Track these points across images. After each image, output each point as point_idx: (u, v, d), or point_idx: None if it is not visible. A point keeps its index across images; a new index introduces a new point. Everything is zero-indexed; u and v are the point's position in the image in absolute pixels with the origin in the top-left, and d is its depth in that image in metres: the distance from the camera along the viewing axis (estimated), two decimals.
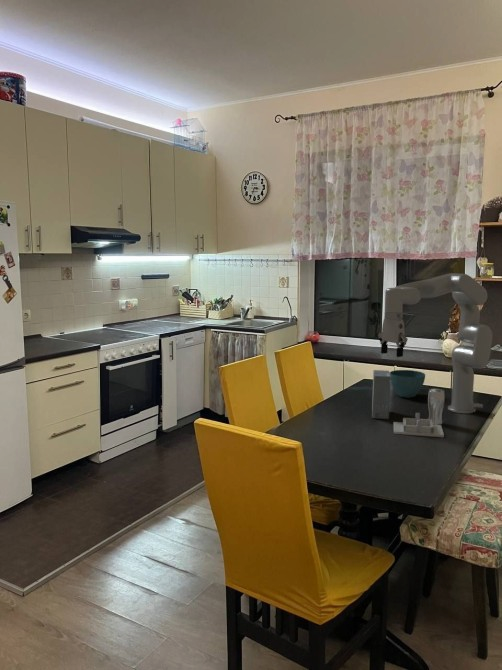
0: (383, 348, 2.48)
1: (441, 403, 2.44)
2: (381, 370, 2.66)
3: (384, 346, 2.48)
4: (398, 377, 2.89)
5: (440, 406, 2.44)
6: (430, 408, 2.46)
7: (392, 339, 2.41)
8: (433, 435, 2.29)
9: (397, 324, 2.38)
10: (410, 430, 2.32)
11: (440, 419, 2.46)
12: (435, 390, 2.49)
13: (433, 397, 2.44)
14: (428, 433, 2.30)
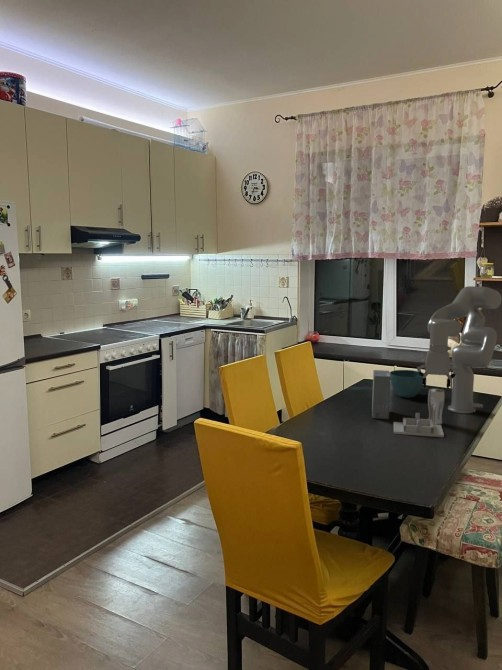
0: None
1: (441, 403, 2.44)
2: (381, 370, 2.66)
3: None
4: (398, 377, 2.89)
5: (440, 406, 2.44)
6: (430, 408, 2.46)
7: (443, 371, 2.42)
8: (433, 435, 2.29)
9: (448, 356, 2.41)
10: (410, 430, 2.32)
11: (440, 419, 2.46)
12: (435, 390, 2.49)
13: (433, 397, 2.44)
14: (428, 433, 2.30)
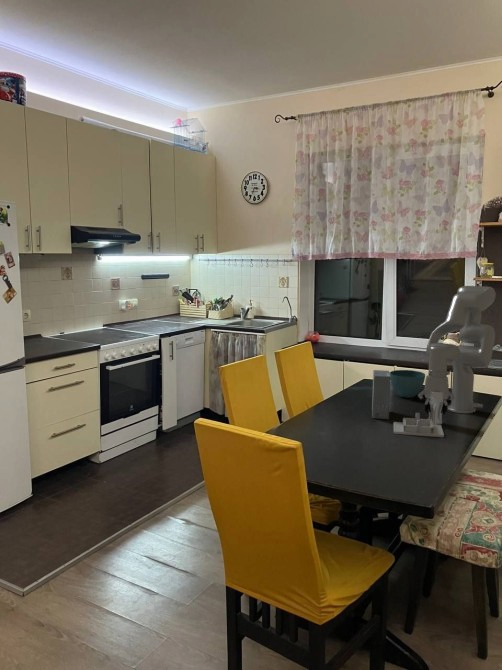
0: None
1: (441, 403, 2.44)
2: (381, 370, 2.66)
3: None
4: (398, 377, 2.89)
5: (440, 406, 2.44)
6: (430, 408, 2.46)
7: None
8: (433, 435, 2.29)
9: (447, 381, 2.43)
10: (410, 430, 2.32)
11: (440, 419, 2.46)
12: None
13: (433, 397, 2.44)
14: (428, 433, 2.30)
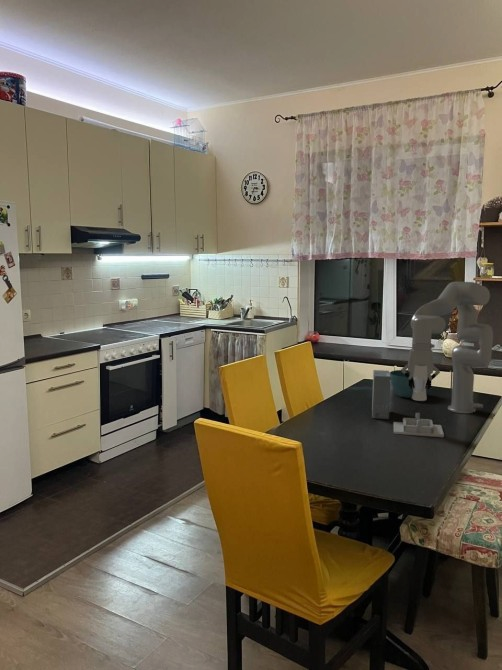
0: None
1: (425, 377, 2.31)
2: (381, 370, 2.66)
3: None
4: (398, 377, 2.89)
5: (424, 380, 2.32)
6: (414, 383, 2.33)
7: (427, 370, 2.31)
8: (433, 435, 2.29)
9: (432, 355, 2.31)
10: (410, 430, 2.32)
11: (424, 395, 2.33)
12: None
13: (417, 371, 2.31)
14: (428, 433, 2.30)
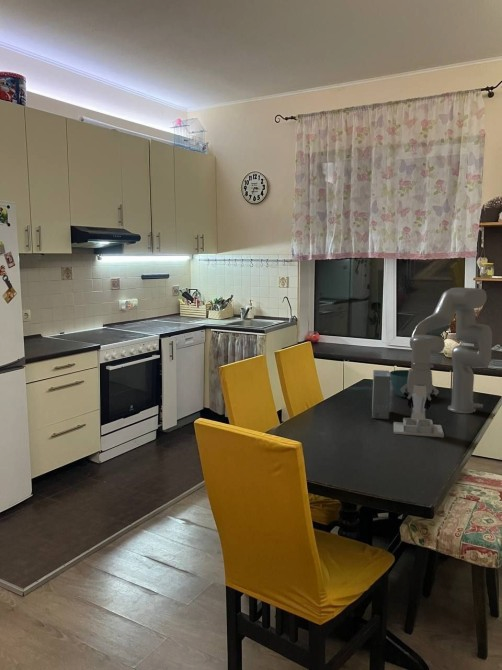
0: None
1: (424, 397, 2.32)
2: (381, 370, 2.66)
3: None
4: (398, 377, 2.89)
5: (423, 400, 2.33)
6: (413, 403, 2.34)
7: (426, 390, 2.32)
8: (433, 435, 2.29)
9: (431, 375, 2.32)
10: (410, 430, 2.32)
11: (423, 414, 2.34)
12: None
13: (416, 391, 2.32)
14: (428, 433, 2.30)
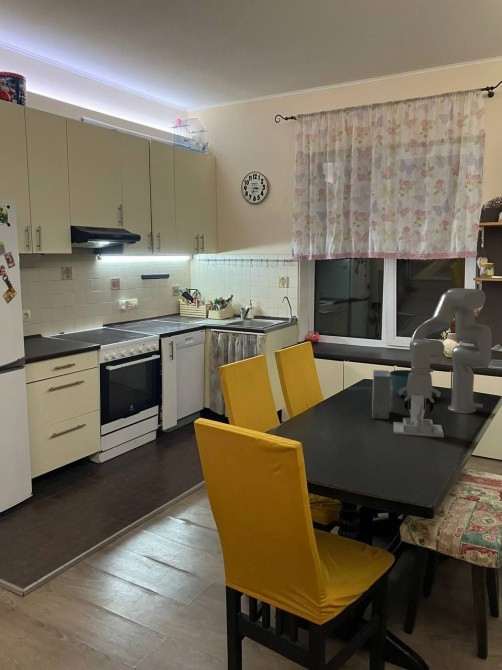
0: None
1: (422, 407, 2.33)
2: (381, 370, 2.66)
3: None
4: (398, 377, 2.89)
5: (421, 410, 2.34)
6: (411, 412, 2.35)
7: (425, 394, 2.33)
8: (433, 435, 2.29)
9: (431, 379, 2.32)
10: (410, 430, 2.32)
11: (421, 424, 2.36)
12: None
13: (414, 400, 2.33)
14: (428, 433, 2.30)
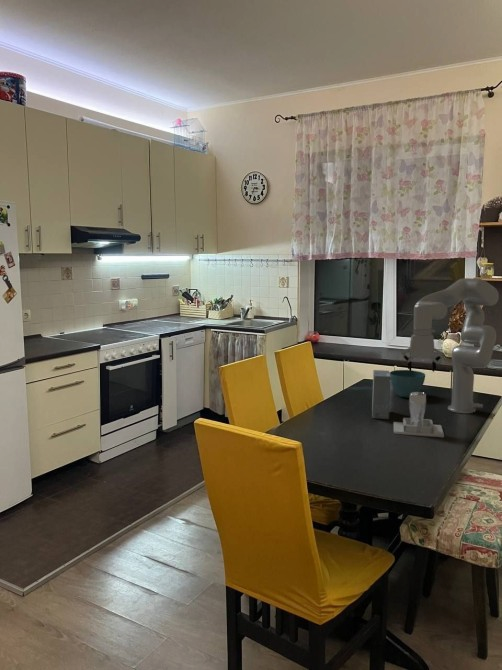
0: None
1: (422, 407, 2.33)
2: (381, 370, 2.66)
3: None
4: (398, 377, 2.89)
5: (421, 410, 2.34)
6: (411, 412, 2.35)
7: (428, 355, 2.40)
8: (433, 435, 2.29)
9: (433, 339, 2.39)
10: (410, 430, 2.32)
11: (421, 424, 2.35)
12: (416, 393, 2.39)
13: (415, 400, 2.33)
14: (428, 433, 2.30)
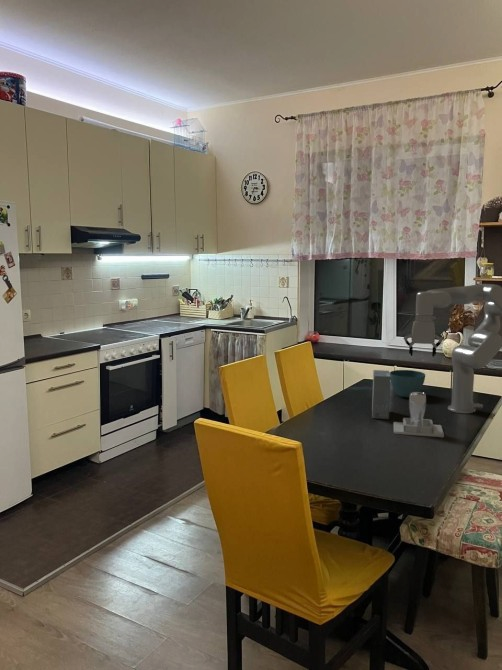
0: (412, 350, 2.56)
1: (422, 407, 2.33)
2: (381, 370, 2.66)
3: (412, 348, 2.56)
4: (398, 377, 2.89)
5: (421, 410, 2.34)
6: (411, 412, 2.35)
7: (429, 340, 2.52)
8: (433, 435, 2.29)
9: (433, 326, 2.52)
10: (410, 430, 2.32)
11: (421, 424, 2.36)
12: (416, 393, 2.39)
13: (415, 400, 2.33)
14: (428, 433, 2.30)
